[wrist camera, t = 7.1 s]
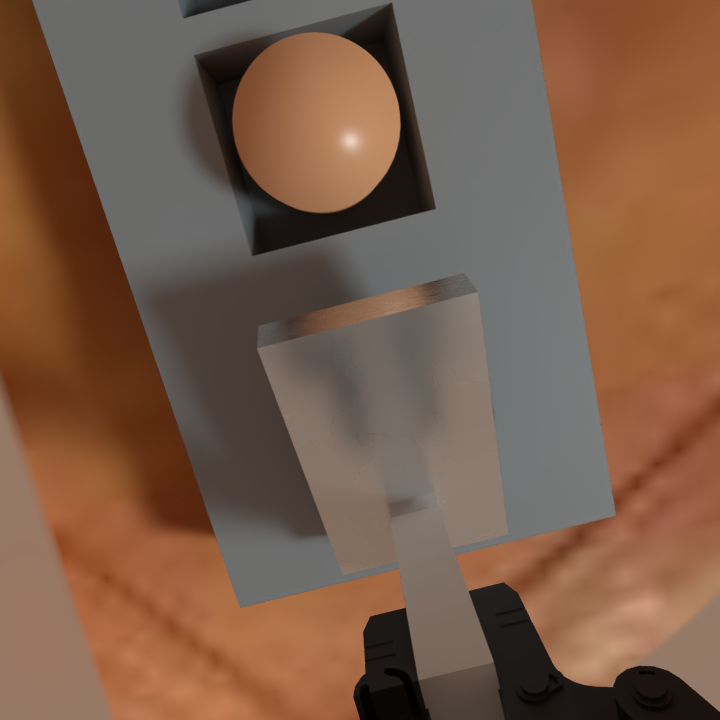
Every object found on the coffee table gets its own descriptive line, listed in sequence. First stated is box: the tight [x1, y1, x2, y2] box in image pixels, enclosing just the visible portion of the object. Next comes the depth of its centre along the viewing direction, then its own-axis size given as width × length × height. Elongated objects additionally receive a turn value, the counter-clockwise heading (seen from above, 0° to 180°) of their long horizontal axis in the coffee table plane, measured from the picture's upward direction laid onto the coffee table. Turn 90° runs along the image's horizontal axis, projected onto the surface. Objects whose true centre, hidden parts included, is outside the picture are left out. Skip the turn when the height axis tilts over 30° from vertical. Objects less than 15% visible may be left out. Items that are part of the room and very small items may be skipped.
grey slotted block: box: [32, 0, 616, 608], centre depth 20 cm, size 26×14×6 cm, turn 14°
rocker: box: [257, 273, 508, 575], centre depth 17 cm, size 9×6×2 cm, turn 14°
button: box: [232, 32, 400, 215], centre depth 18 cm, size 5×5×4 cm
